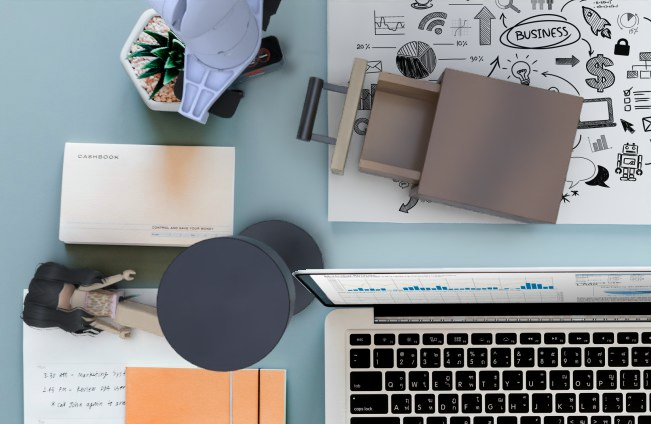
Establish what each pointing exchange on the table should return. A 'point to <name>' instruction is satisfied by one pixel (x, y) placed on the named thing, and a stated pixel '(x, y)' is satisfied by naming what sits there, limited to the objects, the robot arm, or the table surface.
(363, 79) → the drawer
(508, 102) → the cabinet
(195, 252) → the desk lamp
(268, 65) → the black dial device
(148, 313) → the toy figure
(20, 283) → the table surface
